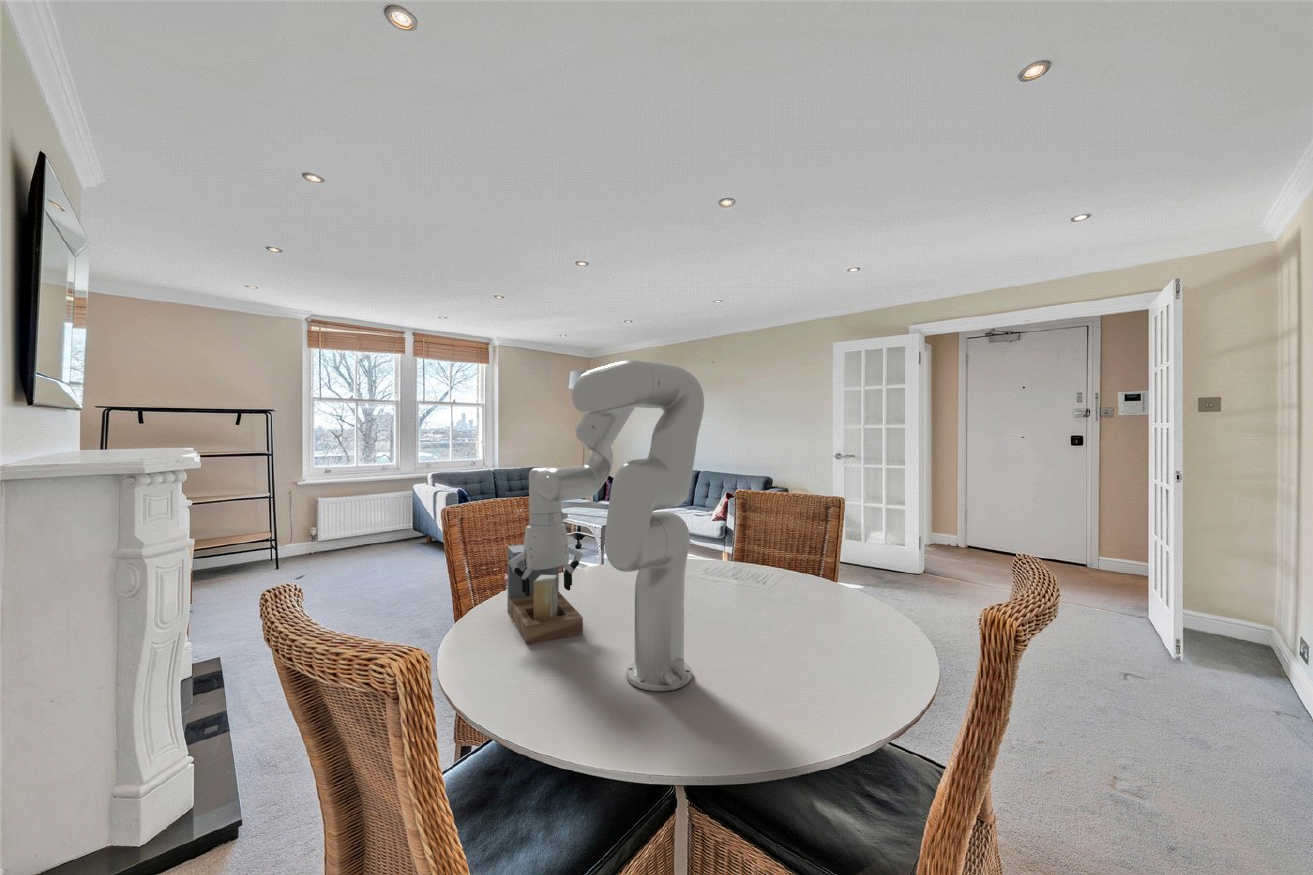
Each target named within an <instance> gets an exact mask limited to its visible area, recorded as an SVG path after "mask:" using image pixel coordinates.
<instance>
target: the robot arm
mask: <svg viewBox="0 0 1313 875" xmlns="http://www.w3.org/2000/svg"><path fill="white" fill-rule="evenodd" d="M571 391H572V392H571V400H572V404H573V406H574V408H575V409H576V410H577V411H578V412H580V413H581V414H582V416H581V418H580V420H579V421H578V423H577V424H576V427H575V436H576V438H577V439H578V441H579V442H580V443H581V444H582V445H583V446H584V447H585V448H587V449H589V451H591V454H590V455H589V458H588V459H587V460H586V462H585V464H584V465H579V466H578V465H577V466H576V465H575V466H565V467H553V466H552V467H551V466H548V467H547V466H545V467H542V466H541V467H535V468H532V469H530V471H529V473H528V495H529V496H528V498H529V499H528V501H529V502H528V503H529V506H528V507H529V525H526V526H525V529H524V530H525V533H524V540H523V545H524V551H523V552H522V553H520V554H519V555H517V556H515V557H514V558H512V559H511V560H509V564H510V565H511V567H512V569H513V570H514V572H515V573H516V574H517V575H519V576H520V577H521V589H522V592H524V594H525V595H526V597H527V596H530V582H529V579H528V576H529V574H530V573H531V572H532V570H540V569H548V568H556V567H562V566H563V567H562V568H564V571H563V588H564V589H565V590H567V591H571V586H573V573H574V571H575V570H576V568H577V567H578V566H579V565H580V561H581V560H582V558H583V553H582V552H581V551H579V550H576V549H574V548H571V547H569V539H568V534H567V533H568V532H567V529H566V525H565V523H564V520H565V519H566V520H567V519H569V517H568V516H569V513H568V512H563V507H562V506H563V502H565V501H566V502H567V501H572V500H578V499H587V498H590V497H593V496H594V495H596V494H597V493H598V492H599V491H600V490H601V488H602V487H603V485H604V484H605V482H607V480H608V478H609V476H610V475H611V472H612V470H613V463H614V462H613V461H614V456H613V449H612V445H613V444H614V442H615V440H616V439H617V437H618V435H619V434H620V432H621V431H622V429H623V427H624V426H625V424H626V423H627V421H628V420H629V418H630V416H631V414H632V413H633V412H634V410H635V408H641V409H642V408H643V409H661V410H662V411H663V413H662V415H661V416H660V417H659V419H658V420H657V421H656V424H655V426H654V428H653V432H652V434H651V441H650V447H649V453H648V456H647V458H639V459H638V458H637V459H632V460H629V461H627V462H624V463H623V464H622V465H621V466H620V467H619V468H618V470H617V471H616V473H615V475H614V477H613V479H612V483H611V487H610V493H609V494H610V495H609V501H608V509H607V516H606V524H605V532H604V550H605V554H606V558H607V560H608V562H609V564H611V566H612V567H613V568H614V569H615V570H617V571H620V572H625V573H631V572H635V571H637V574H636V579H635V582H634V583H635V584H634V585H635V586H634V661H632V663H630V664H629V665H628V666H627V667H626V673H625V675H626V676H625V677H626V680H627V681H628V682H629V683H630V684H631V685H633V686H634V687H636V688H638V689H642V690H646V691H650V692H669V691H674V690H675V691H676V690H677V689H680V688H684V686H686V685H687V684H689V682H691V680H692V678H693V671H692V670H693V669H692V668H691V666H690V665H689V664H688V663H686V662H685V579H686V568H687V567H686V566H687V560H688V555H689V550H690V542H691V538H690V530H689V527H688V525H687V523H686V522H685V520H684V519H683V518H682V517H681V516H680V515H678V514H676V513H673V512H671V511H659V510H666V509H670V508H673V507H677V506H680V505H681V504H683V503H684V502H685V501H686V500H687V498H688V496H689V494H690V489H691V483H692V477H693V471H694V464H695V458H696V450H697V442H698V437H699V432H700V428H701V424H702V420H703V416H704V410H705V397H704V396H705V395H704V391H703V388H702V386H701V384H700V382H699V380H698V379H697V378H696V376H695V375H693V374H692V373H691V372H689V371H688V370H686V369H685V368H682V367H679V366H676V365H672V364H665V363H659V362H650V361H644V360H636V359H631V360H630V359H628V360H622V361H618V362H617V361H616V362H614V363H610V364H607V365H605V366H604V365H603V366H601V367H597V368H594V369H590V370H587V371H586V372H584V373H582V374H581V375H580V376H579V377H578V378H577V379H576V381H575V382H574V385H573V387H572V390H571ZM653 511H657V512H653ZM570 555H572V556H574V558H573V560H572V561H571V562H569V561H570ZM521 560H523V562H524V565H525V567H524V568H523V570H520V569H519V568H518V566H517V563H518V562H520V561H521Z"/></svg>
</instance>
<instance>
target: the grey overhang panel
mask: <svg viewBox="0 0 1313 875" xmlns="http://www.w3.org/2000/svg"><path fill="white" fill-rule="evenodd" d="M506 548H507V552H506V553H507V555H506V557H507V558H506V559H507V560H506V563H507V568H506V570H507V583H506V584H507V587H506V588H507V613H508V614H509V598H514V597H522V596H526V595H525V594H524V592H522V589H521V577H520V576H519V575H517V574H516V573H515V572H514V570H513V569H512V567H511V565H510V564H509V560H511V559H512V558H514V557H515V556H517V555H519V554H520V553H522V552H523V551H524V544H517V545H507V546H506ZM517 566H518V568H519V569H520V570H523V568H524V567H525V565H524V562H523V560H521V561H520V562H518V563H517ZM561 568H564V567H563V566H562V567H556V568H548V569H540V570H532V572H531V573H530V574H529V576H528V579H529V582H530V595H533V582H534V581H535V580H536V579H537V578H538V577H539V576H540V575H557V592H559V593H560V591H559V590H560V589H559V588H560V587H559V584H560V578H559V573H560V570H559V569H561Z"/></svg>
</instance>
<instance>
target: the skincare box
mask: <svg viewBox="0 0 1313 875" xmlns="http://www.w3.org/2000/svg"><path fill="white" fill-rule="evenodd" d="M533 596H534V620H537V619H544V618H550V617H557V575H540V576H539V577H538V578H537V579H536V580H535V581H534V582H533Z"/></svg>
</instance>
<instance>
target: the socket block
mask: <svg viewBox="0 0 1313 875" xmlns="http://www.w3.org/2000/svg"><path fill="white" fill-rule="evenodd" d="M508 614H509V616H510V618H511V620H512V622H513V624H514V623H515V624H514V626H516V628H517V631H518V632H519V635H520V636H521V638H522V639H523V641H524V643H525V645H530V644H534V643H535V642H536V643H540V641H541V642H546V641H545V640H547V641H552V640H551V639H553V640H557V639H558V638H559V639H563V637H565V638H569V637H575V636H576V637H577V636H581V634H582V635H583V634H584V628H583V627H584V623H583V622H584V617H583V616H582V615H581V614H580V612H578V611H577V609H575V607H574V606H573V605H572V604H571V603H570V602H569V600H567V599H566V597H565V596H564V595H562V593H561V592H560V591H559V592H557V617H550V618H544V619H537V620H534V596H533V595H530V596H527V597H526V596H522V597H514V598H509V613H508ZM556 638H557V639H556ZM536 643H535V644H536Z"/></svg>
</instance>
